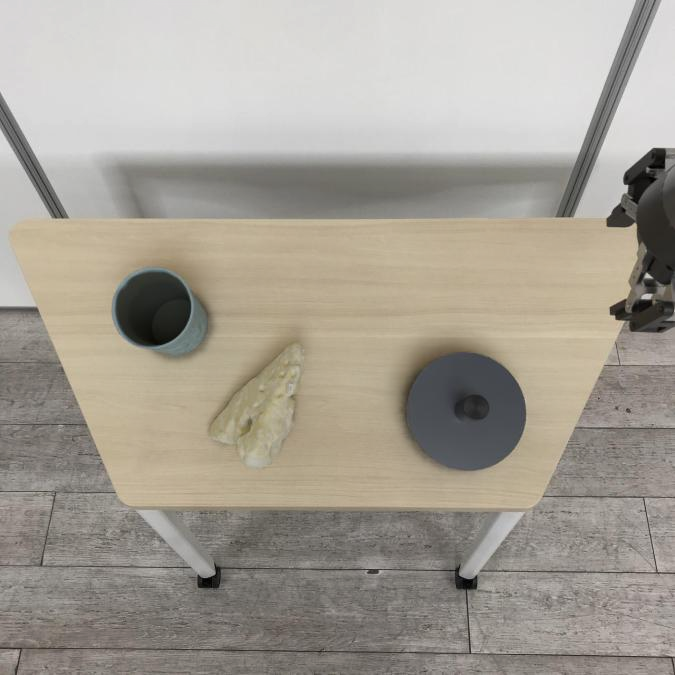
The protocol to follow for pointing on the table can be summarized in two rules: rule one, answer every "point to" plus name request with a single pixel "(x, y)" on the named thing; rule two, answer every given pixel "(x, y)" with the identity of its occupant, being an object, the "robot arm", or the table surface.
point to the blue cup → (158, 312)
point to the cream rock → (262, 410)
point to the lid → (466, 411)
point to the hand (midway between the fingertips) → (618, 267)
